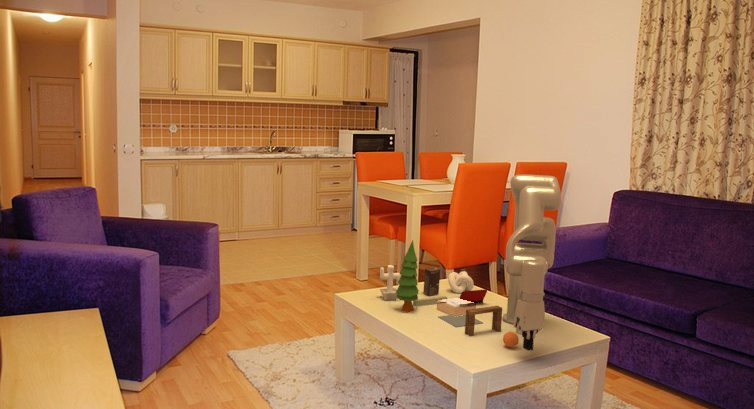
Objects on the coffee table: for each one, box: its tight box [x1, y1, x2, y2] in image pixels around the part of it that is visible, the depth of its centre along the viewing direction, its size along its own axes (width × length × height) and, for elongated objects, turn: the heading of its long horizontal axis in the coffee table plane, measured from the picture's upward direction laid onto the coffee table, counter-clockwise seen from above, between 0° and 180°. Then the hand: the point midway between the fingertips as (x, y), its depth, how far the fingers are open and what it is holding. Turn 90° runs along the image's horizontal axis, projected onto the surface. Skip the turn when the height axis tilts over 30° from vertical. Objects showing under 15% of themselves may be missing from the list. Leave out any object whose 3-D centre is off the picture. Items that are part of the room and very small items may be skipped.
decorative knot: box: [447, 270, 475, 294], centre depth 282 cm, size 11×12×9 cm
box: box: [422, 267, 441, 297], centre depth 275 cm, size 6×4×12 cm
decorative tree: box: [396, 239, 419, 313], centre depth 250 cm, size 10×9×30 cm
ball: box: [502, 331, 520, 348], centre depth 214 cm, size 6×6×6 cm
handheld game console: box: [459, 288, 488, 305], centre depth 265 cm, size 12×11×7 cm
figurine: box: [379, 264, 401, 301], centre depth 267 cm, size 7×9×15 cm
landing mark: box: [437, 314, 484, 328], centre depth 242 cm, size 13×13×1 cm
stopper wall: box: [412, 295, 448, 308], centre depth 262 cm, size 16×2×2 cm, turn 117°
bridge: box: [464, 305, 503, 337], centre depth 228 cm, size 3×14×9 cm, turn 117°
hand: (527, 348), depth 206 cm, fingers closed
